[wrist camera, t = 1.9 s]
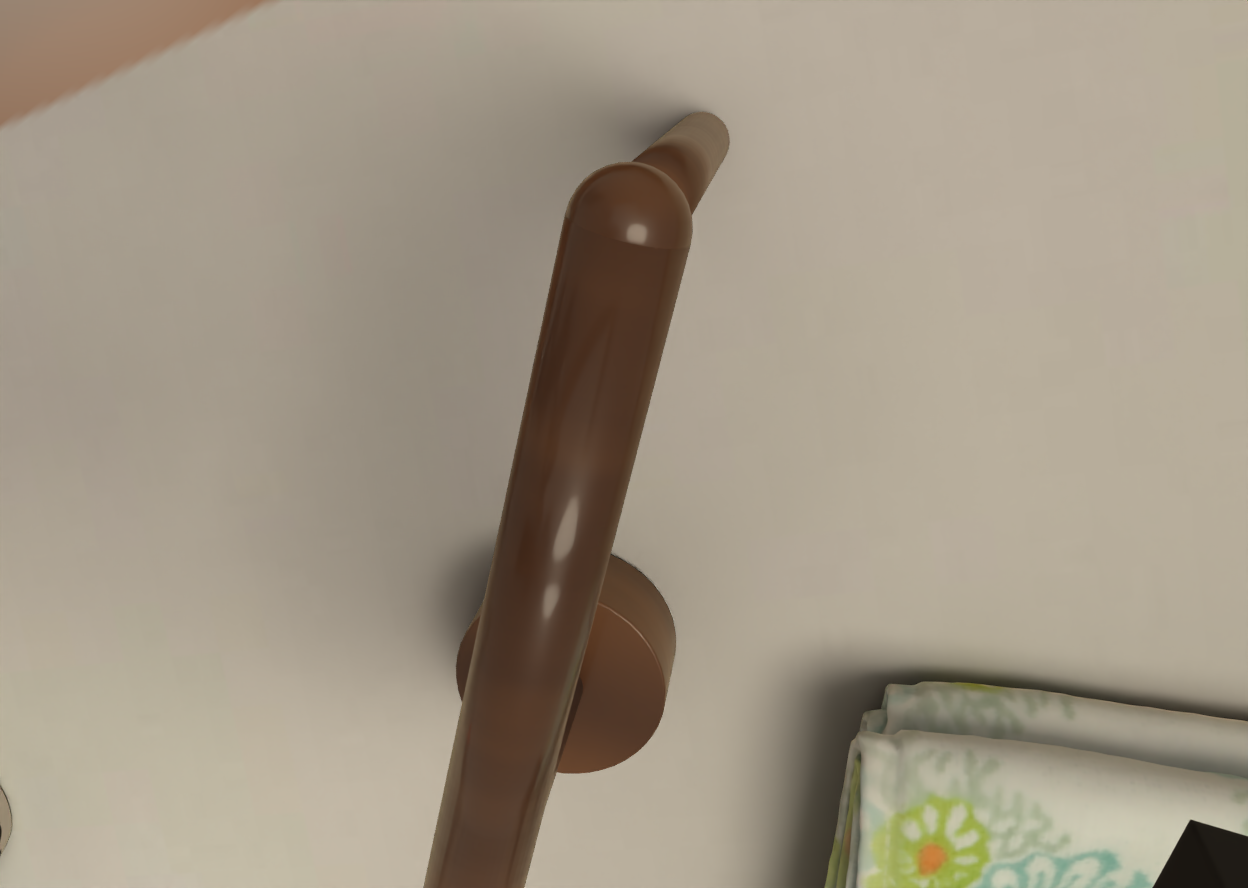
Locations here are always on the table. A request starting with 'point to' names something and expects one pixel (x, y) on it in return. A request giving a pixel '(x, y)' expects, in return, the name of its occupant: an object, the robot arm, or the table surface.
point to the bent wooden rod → (574, 524)
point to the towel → (1028, 789)
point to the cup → (4, 821)
